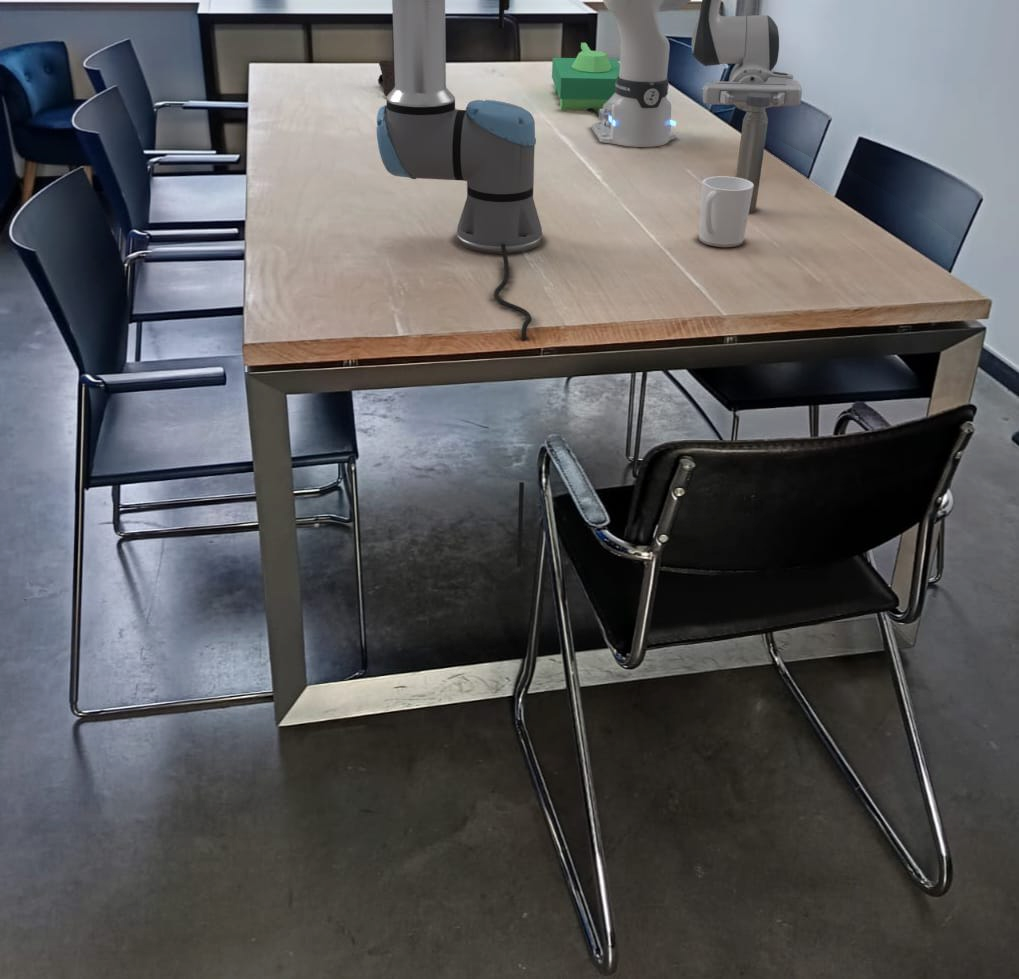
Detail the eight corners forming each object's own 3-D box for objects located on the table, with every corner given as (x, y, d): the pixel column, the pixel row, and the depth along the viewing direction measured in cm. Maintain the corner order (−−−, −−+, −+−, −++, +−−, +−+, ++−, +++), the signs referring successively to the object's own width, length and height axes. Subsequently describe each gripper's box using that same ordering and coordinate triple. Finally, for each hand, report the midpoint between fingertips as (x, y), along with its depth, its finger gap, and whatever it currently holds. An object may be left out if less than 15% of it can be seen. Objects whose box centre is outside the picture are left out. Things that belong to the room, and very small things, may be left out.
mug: (712, 228, 203) (718, 173, 198) (754, 239, 198) (762, 182, 193) (680, 243, 196) (686, 186, 191) (724, 254, 191) (731, 196, 186)
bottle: (738, 213, 212) (753, 100, 201) (727, 206, 216) (741, 95, 205) (759, 212, 213) (775, 99, 202) (748, 205, 217) (763, 94, 206)
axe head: (443, 87, 294) (392, 77, 287) (436, 115, 299) (385, 106, 292) (421, 62, 307) (371, 52, 300) (414, 89, 311) (365, 80, 304)
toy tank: (614, 39, 306) (631, 63, 276) (610, 85, 312) (627, 113, 282) (551, 38, 305) (561, 62, 275) (549, 84, 311) (559, 112, 281)
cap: (752, 107, 202) (753, 97, 201) (741, 102, 205) (743, 93, 204) (773, 106, 203) (774, 96, 202) (762, 101, 206) (763, 92, 206)
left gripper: (534, -91, 215) (530, 25, 226) (409, -94, 217) (412, 20, 229) (530, -88, 209) (526, 31, 220) (401, -92, 211) (405, 26, 222)
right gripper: (702, 72, 235) (702, 83, 223) (800, 74, 232) (805, 86, 220) (700, 102, 238) (700, 115, 226) (796, 105, 235) (801, 118, 224)
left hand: (468, 26), depth 224 cm, fingers open, 13 cm apart
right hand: (753, 101), depth 223 cm, fingers open, 8 cm apart
